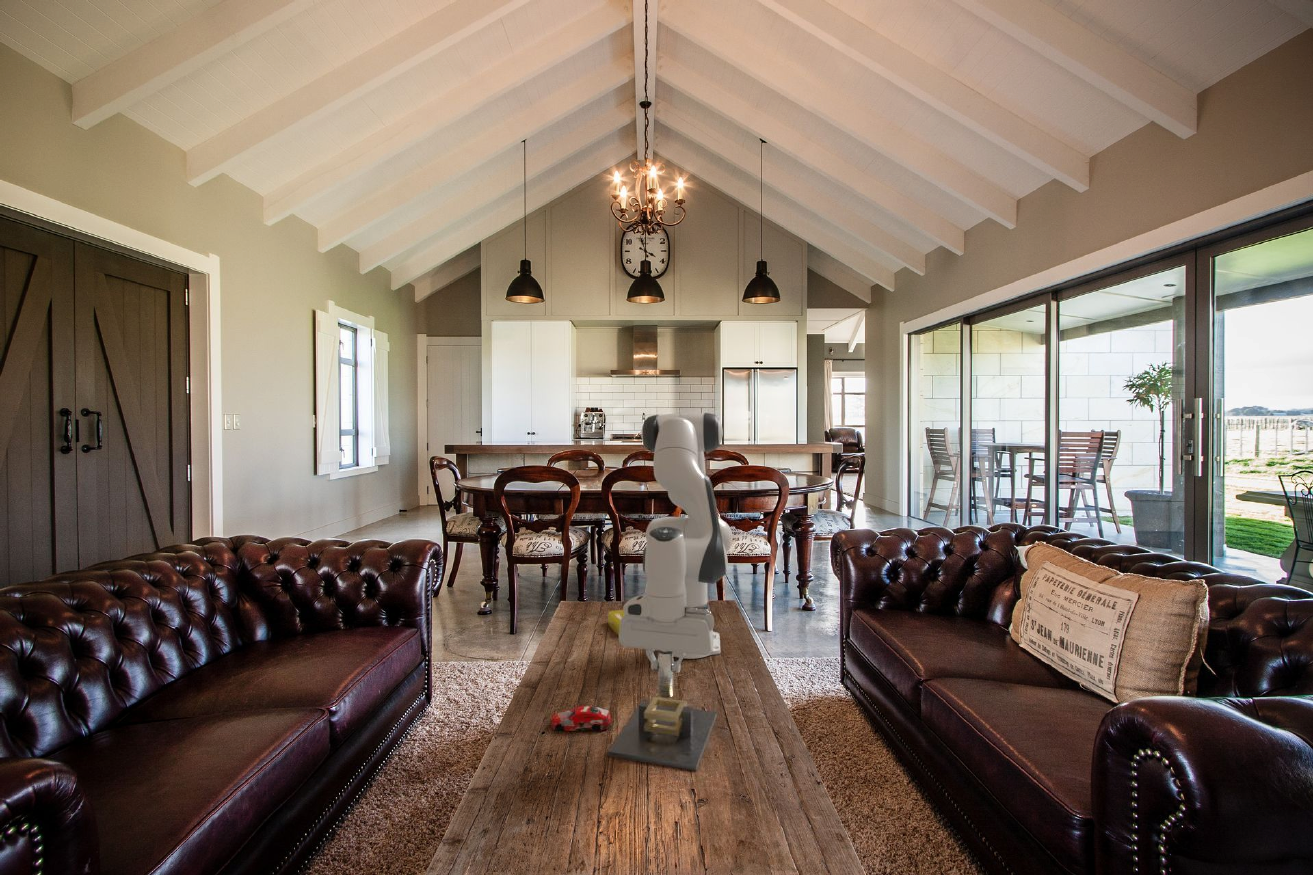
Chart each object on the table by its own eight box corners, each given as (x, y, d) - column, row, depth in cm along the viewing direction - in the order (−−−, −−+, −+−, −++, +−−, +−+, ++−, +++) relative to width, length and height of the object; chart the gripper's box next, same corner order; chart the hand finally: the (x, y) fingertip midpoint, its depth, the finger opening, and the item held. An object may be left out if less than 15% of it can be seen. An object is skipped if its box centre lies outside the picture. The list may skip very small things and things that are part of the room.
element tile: (606, 623, 198) (606, 609, 198) (648, 618, 203) (648, 604, 203) (620, 638, 184) (620, 623, 184) (665, 632, 189) (664, 617, 189)
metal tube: (660, 689, 127) (660, 634, 127) (675, 691, 126) (675, 636, 126) (655, 696, 124) (655, 640, 124) (671, 698, 123) (671, 641, 123)
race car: (548, 733, 127) (548, 715, 127) (553, 720, 132) (553, 703, 132) (609, 733, 127) (609, 715, 127) (611, 720, 132) (611, 703, 132)
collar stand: (641, 705, 138) (641, 680, 138) (716, 716, 133) (716, 689, 133) (607, 756, 117) (607, 725, 117) (696, 770, 112) (696, 738, 112)
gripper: (716, 605, 125) (716, 669, 125) (625, 597, 131) (625, 659, 131) (711, 614, 119) (711, 682, 119) (615, 605, 125) (616, 670, 125)
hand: (665, 670), depth 125 cm, fingers closed on metal tube, 3 cm apart
